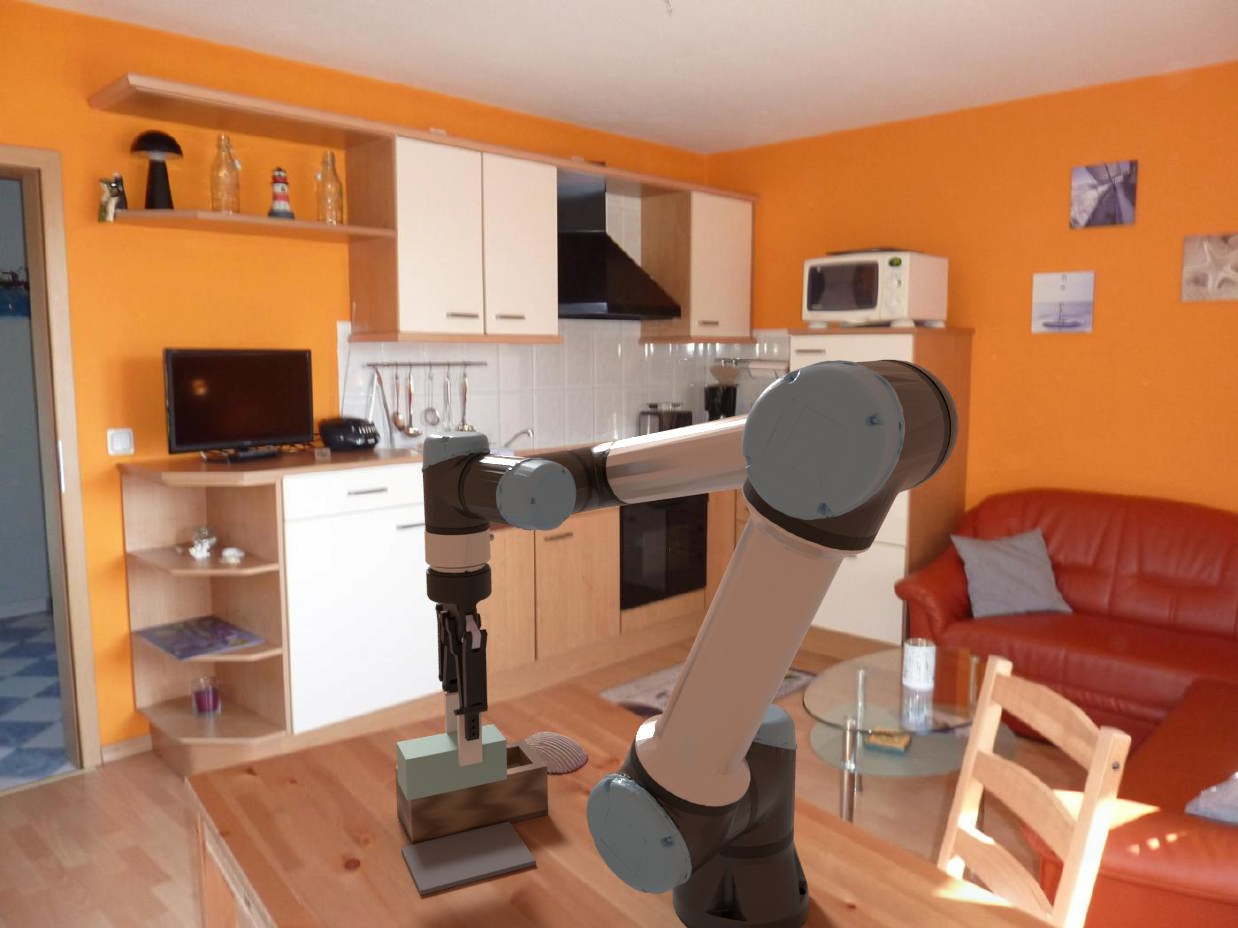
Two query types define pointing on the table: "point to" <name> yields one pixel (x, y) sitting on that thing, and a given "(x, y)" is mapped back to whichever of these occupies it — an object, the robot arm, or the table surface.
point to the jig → (480, 800)
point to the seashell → (557, 751)
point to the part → (448, 764)
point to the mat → (466, 857)
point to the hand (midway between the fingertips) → (463, 752)
